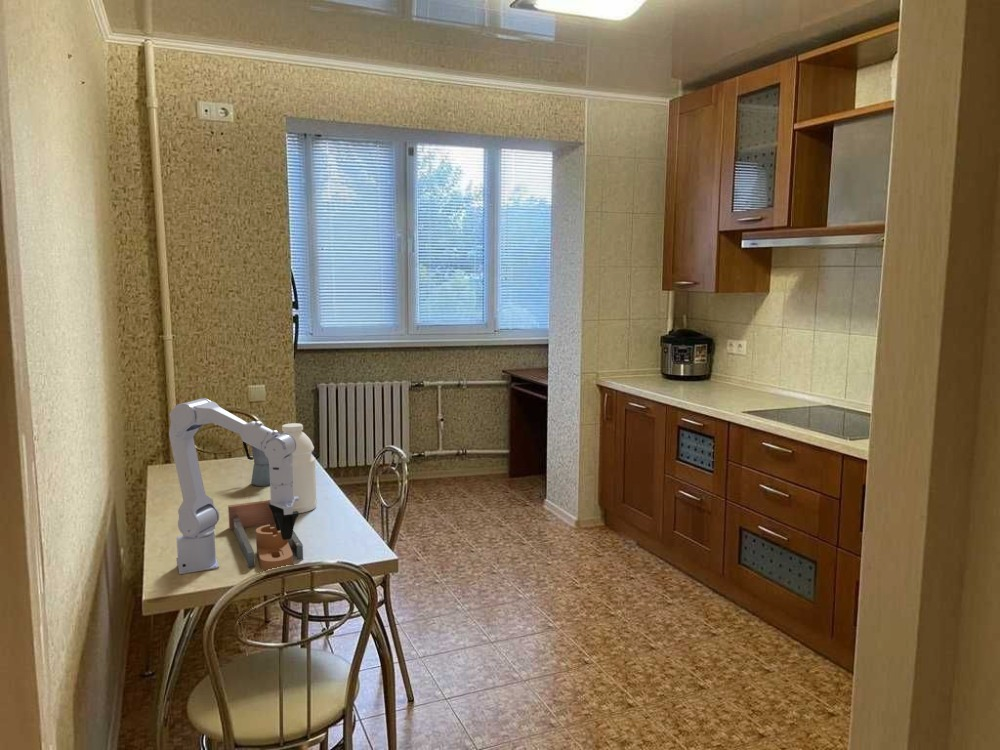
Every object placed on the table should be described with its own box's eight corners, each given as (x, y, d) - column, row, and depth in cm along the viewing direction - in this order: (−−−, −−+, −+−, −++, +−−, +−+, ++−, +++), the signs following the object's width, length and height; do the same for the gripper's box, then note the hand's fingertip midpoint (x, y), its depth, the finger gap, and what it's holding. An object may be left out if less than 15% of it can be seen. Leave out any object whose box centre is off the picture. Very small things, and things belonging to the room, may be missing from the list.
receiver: (244, 568, 192) (243, 542, 191) (228, 527, 224) (227, 505, 223) (306, 558, 199) (305, 533, 198) (282, 520, 231) (282, 498, 230)
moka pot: (276, 487, 267) (274, 433, 265) (237, 486, 270) (234, 432, 267) (288, 480, 276) (285, 428, 274) (249, 479, 279) (247, 427, 276)
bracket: (255, 550, 206) (254, 526, 205) (286, 546, 209) (285, 522, 208) (261, 573, 189) (260, 547, 188) (294, 568, 192) (293, 543, 191)
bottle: (321, 501, 250) (318, 420, 247) (312, 514, 237) (309, 428, 233) (279, 502, 250) (276, 421, 246) (268, 514, 236) (264, 429, 233)
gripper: (304, 487, 181) (306, 540, 183) (292, 473, 194) (294, 523, 195) (274, 491, 178) (276, 545, 179) (264, 477, 191) (266, 527, 192)
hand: (284, 534), depth 187 cm, fingers open, 7 cm apart
